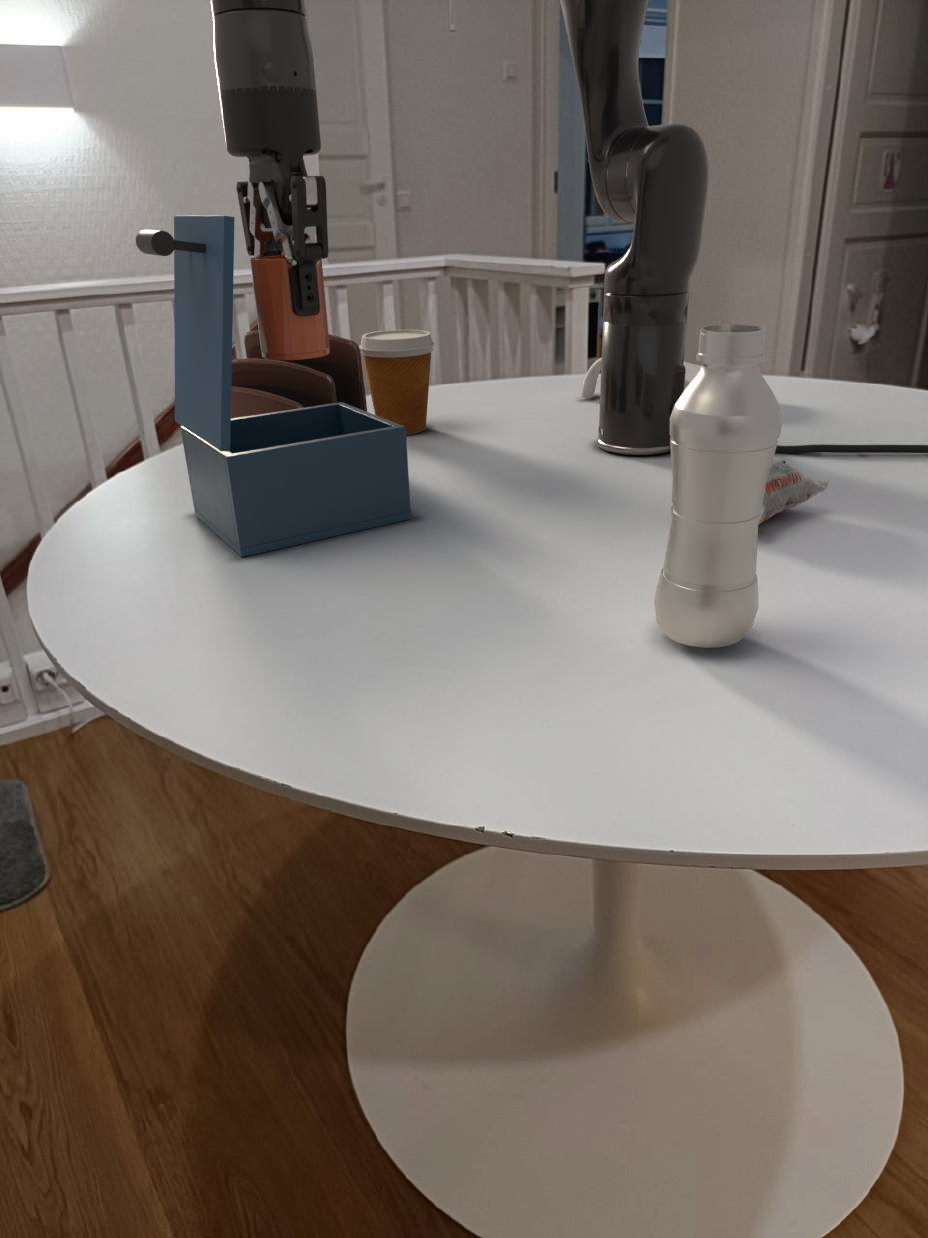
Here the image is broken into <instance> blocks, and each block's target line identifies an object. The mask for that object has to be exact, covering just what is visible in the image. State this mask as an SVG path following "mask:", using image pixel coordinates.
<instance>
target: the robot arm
mask: <svg viewBox="0 0 928 1238" xmlns="http://www.w3.org/2000/svg"><path fill="white" fill-rule="evenodd" d="M649 2H650V0H559V4H560V8H561V12H562V16H563V21H564V25H565V30H566V35H567V40H568V45H569V50H570V54H571V60H572V64H573V69H574V73H575V77H576V82H577V87H578V94H579V100H580V106H581V113H582V120H583V127H584V136H585V143H586V149H587V157H588V164H589V172H590V177H591V182H592V186H593V187H592V188H593V191H594V195H595V197H596V200H597V202H598V205H599V206H600V208H601V209H602V210H601V211H603V213H604V214H606V216H607V217H608V218H610V220H612V221H614V222H616V223H619V224H626V225H627V224H629V225H633V231H632V240H631V243H630V245H629V248H628V249H627V250H626V252H624V254H623V255H622V256H621V257H619V258H618V259H616V260H614V261H612V262H611V263H609V264H608V265H607V267H606V268H605V271H604V279H603V280H604V283H603V310H602V311H603V312H602V313H603V314H602V337H601V338H602V339H601V357H602V361H601V371H600V391H599V416H598V417H599V418H598V436H597V447H599V448H600V449H602V450H604V451H606V452H610V453H614V454H619V455H627V456H653V455H661V454H665V453H671V447H670V437H671V436H670V416H671V414H672V411H673V408H674V406H675V403H676V402H677V400H678V399H679V397H680V396H681V394H682V393H683V392H684V386H685V373H686V368H685V366H684V362H685V352H686V338H687V326H688V325H687V324H688V312H689V311H688V310H689V299H690V289H691V288H690V287H691V278H692V275H693V273H694V270H695V268H696V266H697V263H698V260H699V257H700V252H701V246H702V237H703V229H704V221H705V216H706V207H707V200H708V199H707V198H708V190H709V177H710V175H709V174H710V171H709V169H710V167H709V158H708V151H707V147H706V145H705V142H704V139H703V137H701V135H700V133H699V132H698V131H697V130H696V129H694V127H692V126H690V125H688V124H684V123H665V124H657V125H656V124H655V125H649V122H648V118H647V114H646V110H645V106H644V101H643V96H642V95H643V94H642V89H641V83H640V73H639V72H640V71H639V59H640V48H641V43H642V42H641V41H642V36H643V31H644V26H645V22H646V16H647V12H648V7H649ZM210 4H211V11H212V17H213V18H212V21H213V52H214V53H213V55H214V63H215V64H214V65H215V71H216V79H217V86H218V93H219V102H220V110H221V117H222V118H221V119H222V125H223V134H224V142H225V148H226V151H227V153H228V154H229V155H231V156H232V157H237V158H247V159H248V162H249V165H248V168H249V169H248V180H246V181H237V182H236V194H237V199H238V205H239V206H238V207H239V211H240V218H241V223H242V229H243V234H244V241H245V247H246V248H245V249H246V252H247V255H248V256H250V257H252V256H253V258H254V257H263V256H278V255H285V257H286V260H287V264H288V266H289V268H293V269H288V273H289V283H290V292H291V301H292V310H293V313H294V314H295V315H296V316H301V317H303V316H313V315H317V314H319V312H320V301H319V291H318V280H317V270H316V266H319V264H320V259H322V260H324V259H328V258H329V234H328V233H329V231H328V229H329V228H328V206H327V205H328V204H327V203H328V201H327V183H326V179H325V176H324V175H308V172H307V169H306V164H305V159H304V157H306V156H314V155H316V154H319V152H320V151H321V148H322V140H321V131H320V119H319V118H320V117H319V108H318V107H319V106H318V96H317V85H316V74H315V73H316V72H315V63H314V52H313V47H312V41H311V37H310V33H309V28H308V20H307V9H306V7H307V6H306V0H210ZM315 236H316V237H315ZM815 453H818V454H819V453H820V454H821V453H827V454H828V453H829V454H830V453H831V454H832V453H833V454H928V444H823V443H821V444H802V445H801V444H798V445H778V444H777V447H776V450H775V454H785V455H793V454H794V455H795V454H815Z"/></svg>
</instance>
